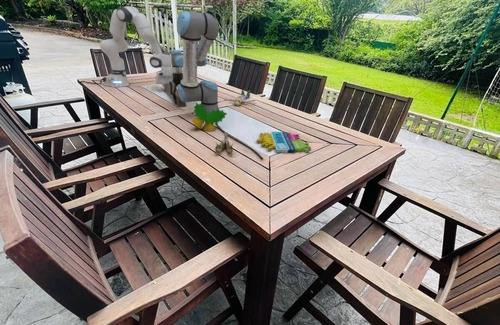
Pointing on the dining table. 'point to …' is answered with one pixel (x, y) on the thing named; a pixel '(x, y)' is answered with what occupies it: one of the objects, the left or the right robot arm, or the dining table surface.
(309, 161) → the dining table surface
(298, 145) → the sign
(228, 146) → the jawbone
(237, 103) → the toy
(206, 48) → the right robot arm
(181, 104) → the post
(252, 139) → the dining table surface
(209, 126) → the ornament
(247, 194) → the dining table surface
